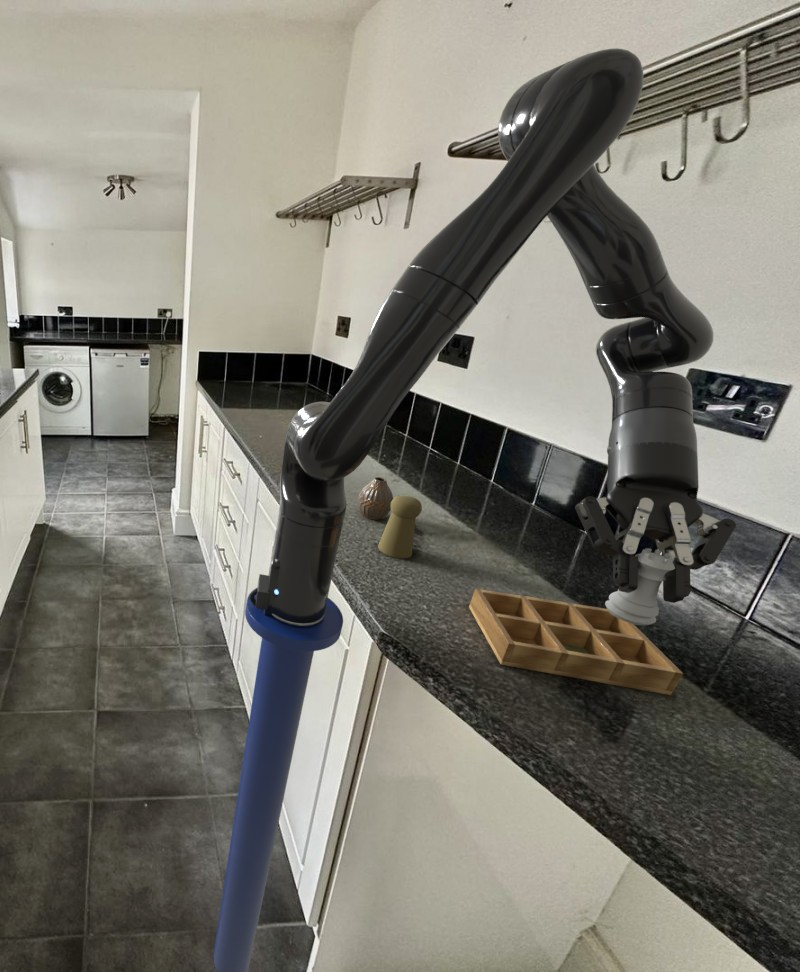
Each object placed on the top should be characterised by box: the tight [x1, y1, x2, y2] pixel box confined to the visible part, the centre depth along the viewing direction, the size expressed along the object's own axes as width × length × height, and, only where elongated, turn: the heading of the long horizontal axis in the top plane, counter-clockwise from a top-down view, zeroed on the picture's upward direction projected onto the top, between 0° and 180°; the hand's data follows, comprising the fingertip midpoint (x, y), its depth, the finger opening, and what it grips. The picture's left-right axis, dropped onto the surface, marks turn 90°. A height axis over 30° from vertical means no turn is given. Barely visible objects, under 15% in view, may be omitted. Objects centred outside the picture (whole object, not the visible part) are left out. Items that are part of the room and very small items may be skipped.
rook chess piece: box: [604, 547, 675, 627], centre depth 56 cm, size 4×4×8 cm
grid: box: [468, 588, 684, 696], centre depth 72 cm, size 20×13×4 cm
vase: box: [357, 476, 394, 521], centre depth 109 cm, size 7×7×9 cm
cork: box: [377, 494, 423, 559], centre depth 95 cm, size 6×6×11 cm
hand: (650, 594), depth 54 cm, fingers closed on rook chess piece, 3 cm apart
